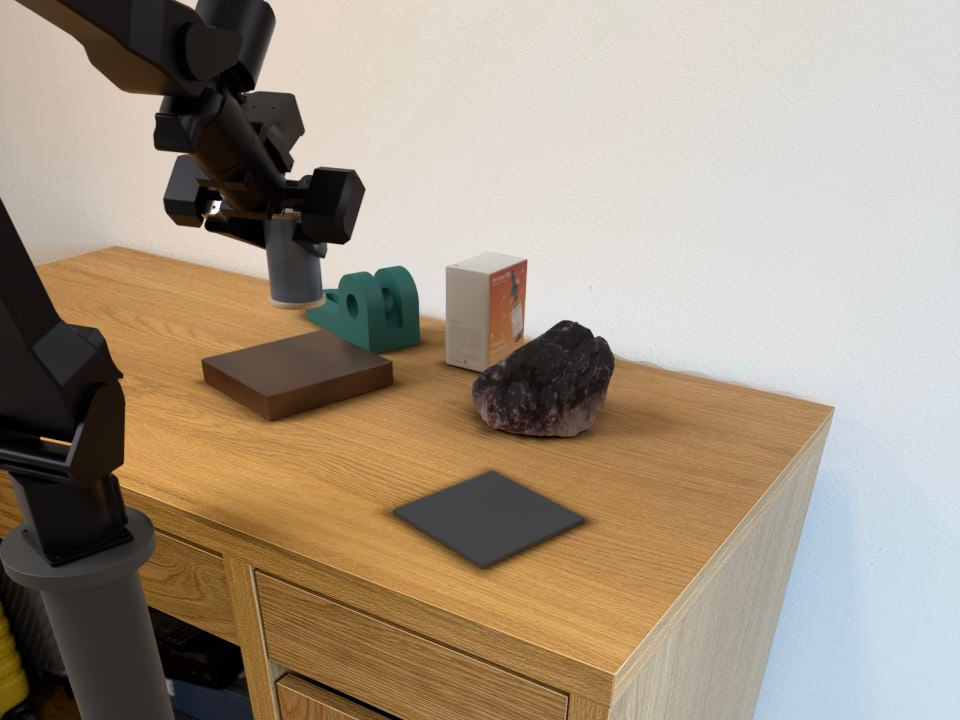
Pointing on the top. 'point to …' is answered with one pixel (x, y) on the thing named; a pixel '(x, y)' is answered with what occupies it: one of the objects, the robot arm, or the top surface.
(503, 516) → the felt mat
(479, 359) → the small box
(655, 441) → the top surface
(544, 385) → the crystal cluster
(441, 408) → the top surface
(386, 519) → the top surface
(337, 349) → the platform
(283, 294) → the spool
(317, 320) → the bracket
